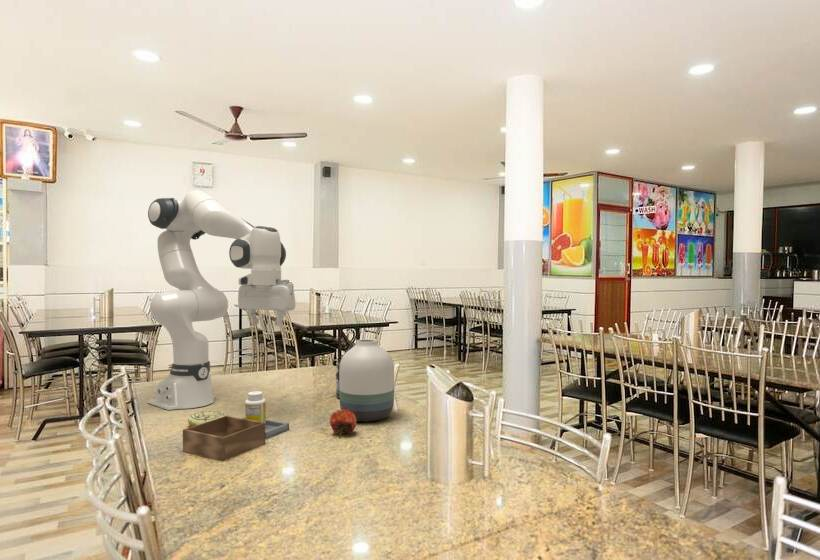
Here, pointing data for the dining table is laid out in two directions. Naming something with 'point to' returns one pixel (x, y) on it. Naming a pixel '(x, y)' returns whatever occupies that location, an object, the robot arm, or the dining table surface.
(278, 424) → the tray
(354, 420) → the pomegranate
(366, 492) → the dining table surface
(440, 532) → the dining table surface
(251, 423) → the box
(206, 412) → the decorated donut
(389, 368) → the vase
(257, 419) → the supplement bottle
